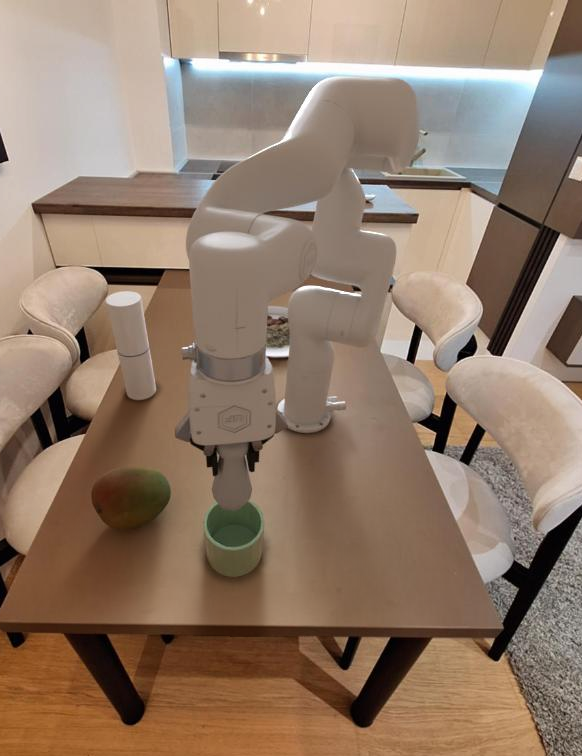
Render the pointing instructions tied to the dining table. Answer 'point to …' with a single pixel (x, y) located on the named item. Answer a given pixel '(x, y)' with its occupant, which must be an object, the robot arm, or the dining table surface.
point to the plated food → (277, 332)
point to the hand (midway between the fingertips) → (232, 465)
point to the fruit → (130, 497)
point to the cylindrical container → (132, 343)
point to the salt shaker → (232, 476)
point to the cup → (234, 538)
